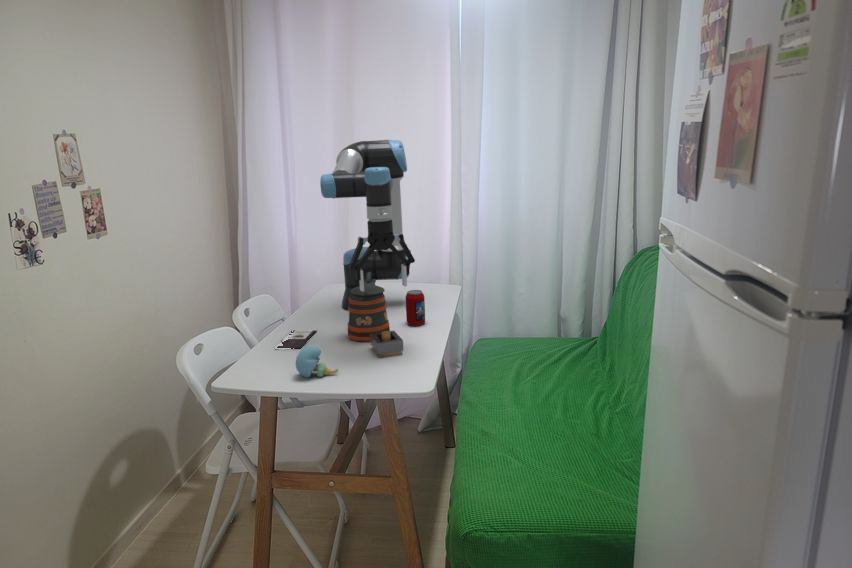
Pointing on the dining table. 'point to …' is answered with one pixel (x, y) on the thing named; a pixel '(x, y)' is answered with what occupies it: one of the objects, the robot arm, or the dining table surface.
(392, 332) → the grey rectangular frame
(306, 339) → the chocolate bar
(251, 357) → the dining table surface
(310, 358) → the blue haired figurine
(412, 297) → the beverage can
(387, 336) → the keeper
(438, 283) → the dining table surface
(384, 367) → the dining table surface
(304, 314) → the dining table surface
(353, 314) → the beer stein
